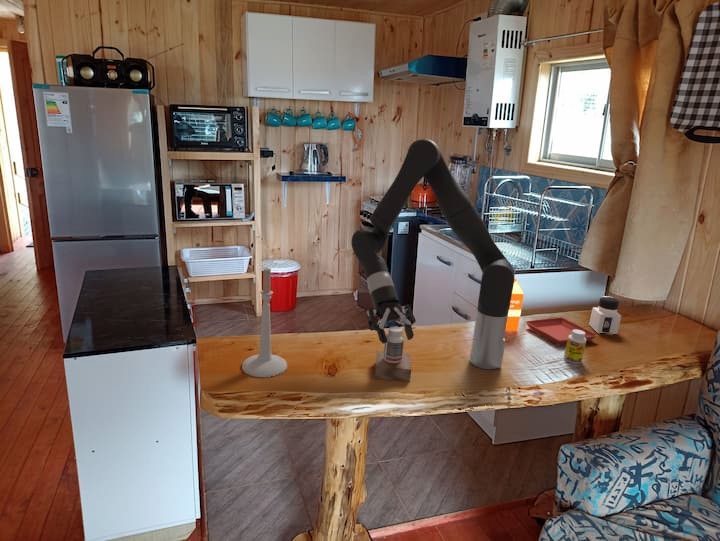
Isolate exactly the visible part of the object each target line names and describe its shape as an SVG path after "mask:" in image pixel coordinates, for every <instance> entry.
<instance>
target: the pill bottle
mask: <svg viewBox="0 0 720 541" xmlns="http://www.w3.org/2000/svg"><path fill="white" fill-rule="evenodd" d="M403 329H404V328H402V327H400V326H397V325H396V326H394V325H393V326H390V327H389V328H388V333H387V334H386V337H387V342H386V343H384V348H383V350H384V360H385V361H387V362H389V363H399V362H401V361H402V354H403V353H404V352H403V351H404V345H405V344H404V343H405V337H404V336H403Z"/></svg>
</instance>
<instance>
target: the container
mask: <svg viewBox="0 0 720 541" xmlns="http://www.w3.org/2000/svg"><path fill="white" fill-rule="evenodd" d="M619 303H620V301H619V299H617V298H616V297H613V296H609V295H608V296H607V295H605V296H600V298H599V301H598V306H597V307H596V306H595V307H592V310H591V315H590V319H589V323H588V326H589V325H590V326H591V327H592V328H593V329H594V330H595V331H596V332H597V334H600V333H613V334H617V335H618V332H619V328H620V324H621V319H622V315H621V314H620V313H619V312H618V310H619V309H618V308H619V306H620V305H619ZM590 326H589V327H590ZM591 327H590V328H591ZM592 328H591V329H592ZM593 329H592V330H593ZM594 330H593V331H594ZM595 331H594V332H595ZM613 334H612V335H613Z"/></svg>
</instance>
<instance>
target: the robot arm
mask: <svg viewBox="0 0 720 541" xmlns="http://www.w3.org/2000/svg"><path fill="white" fill-rule="evenodd" d="M405 155H406V156H405V158H404V160H403V162H402V165H401V167H400V169H399V171H398V173H397V175H396V177H395V178H394V180H393V182H392V183H391V185H390V186H389V188H388V189H387V191H386V192H385V194H384V195H383V197H382V198H381V200H380V201H379V202H378V204H377V206H376V207H375V209H374V211H373V212H372V214H371V215H370V218H369V221H370V223H371V225H372V226H373V229H372V230H371V231H369V230H365V229H357V230H356V231H355V232H354V233H353V235H352V236H351V248H352V251H353V252H354V255H355V256H356V259H357V260H358V262H359V264H360V265H361V266H362V268H363V271H364V275H365V278H366V282H367V288H368V292H369V295H370V298H371V300H372V304H373V307H374V309H373V308H372V307H370V308H369V309H368V310H367V311H366V312H365V314H366V318H367V323H368V328H369V330H370V331H375V332H377V335H378V339H379V342H380V343H381V344H384V345H385V343H386V342H387V337H386V335H387V334H386V331H385V329H384V326H385V323H386V324H388V323H398V324H399V325H401V326H402V327H403V329H404V332H405V336H406V339H407V340H408V341H411V340H413V338H414V331H413V328H412V325H414V324H415V323H416V322H417V321H416V318H415V315H414V313H413V310H412V308H411V305H410V304H409V303H407V304H405V305H403V306H402V305H401V304H400V303H399V302H400V301H399V297H398V293H397V291H396V288H395V284H394V282H393V279H392V277H391V274H390V272H389V269H388V265H387V262H386V260H385V258H383V257H382V256H380V255H379V253H381V252H382V250H383V249H384V247H385V245H386V243H387V240H388V236H389V235H390V234H389V233H390V230H391V228H392V226H393V225H394V223H395V222H396V220H397V219H398V217H399V216H400V213H401V212H402V211H403V209H404V207H405V205H406V203H407V201H408V199H409V197H410V195H411V194H412V192H413V191H414V190H415V187H416V186H417V185H418V184H419V182H420V181H421V180H422V179H423V178H424V180H425V181H426V183H427V184H428V185H429V187H430V189H431V190H432V193H433V195H434V197H435V200H436V202H437V206H438V208H439V209H440V212H441V214H442V216H443V217H444V219H445V222H446V223H447V224H448V226H449V228H450V229H451V230H452V232H453V233H454V235H455V236H456V237H457V238H458V240H460V241H461V243H462V244H463V245H465V246H466V248H468V250H469V251H470V252H471V253H472V255H473V257H474V258H475V260H476V262H477V264H478V266H479V268H480V270H481V273H482V274H481V281H480V286H479V295H478V302H477V308H476V309H477V310H476V317H475V322H474V329H473V336H472V343H471V349H470V355H469V362H470V363H471V364H472V365H473V366H475V367H477V368H479V369H483V370H496V369H502V364H503V358H504V352H505V346H506V342H507V341H506V337H505V335H506V332H505V330H506V324H507V318H508V312H509V307H510V303H511V297H512V291H513V285H514V278H515V270H514V267H513V264H511V262H510V261H509V260H508V259H507V257H506V256H505V255H504V254H503V252H502V251H501V249H499V248H500V247H498V245H497V244H496V242H495V241H494V240H493V238H492V235H491V234H490V232H489V229H488V227H487V225H486V224H485V222H484V220H483V219H482V217H481V214H480V213H479V211H478V209H477V208H476V205H475V204H474V203H473V202H472V200H471V199H470V197H469V195H468V194H467V193H466V191H465V190H464V189H463V187H462V186H461V185H460V183H459V182H458V181H457V180H456V179H455V177H454V176H453V174H452V172H451V170H450V169H449V166H448V165H447V163H446V161H445V158H444V157H443V154H442V152H441V150H440V147H439V146H438V144H437V143H436V142H435V141H433V140H431V139H428V138H420V139H417V140H415V141H413V142H412V143H411V144H410V145H409V147H408V149H407V152H406V154H405ZM376 316H377V317H378V321H376Z"/></svg>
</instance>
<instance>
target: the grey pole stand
mask: <svg viewBox="0 0 720 541" xmlns="http://www.w3.org/2000/svg"><path fill="white" fill-rule="evenodd" d="M262 272H263V277H262V281H263V282H262V290H260V291H259V293H260V294H261V299H262V300H263V303H262V307H261V308H262V310H261V323H260V334H259V336H260V338H259V348H258V354H254V355H251V356H249V357H247V358H246V359H245V360H244V361H243V362H242V364H241V365H242V366H241V369H242V371H243V372H244V373H246V374H247V375H249V376H252V377H255V378H272V377H271V376H273V377H276V375H277V376H280V375H281V373H282V374H284V373H285V372H286V371H285V370H287V369H288V362H287V361H286V360H285V359H284V358H283V357H281V356H279V355H276V354H273V353H272V340H271V339H272V338H271V337H272V336H271V334H272V333H271V304H270V301H271V299H272V295H273V293H274V292H273V291H272V290H271V278H272V276H271V275H272V274H271V273H272V269H271V268H268V267H266V268H263V271H262ZM284 371H285V372H284ZM279 374H280V375H279Z"/></svg>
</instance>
